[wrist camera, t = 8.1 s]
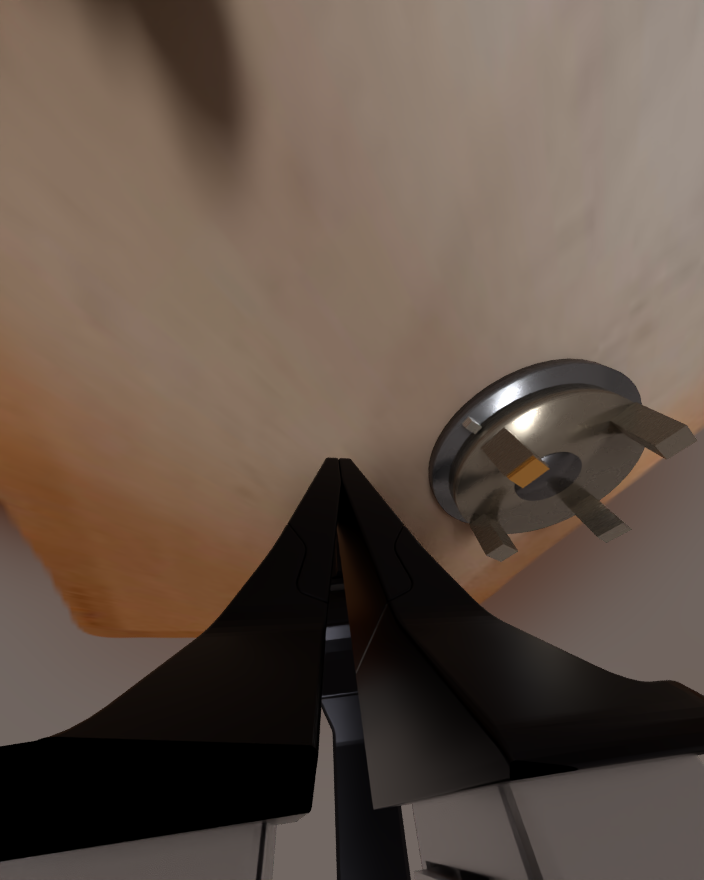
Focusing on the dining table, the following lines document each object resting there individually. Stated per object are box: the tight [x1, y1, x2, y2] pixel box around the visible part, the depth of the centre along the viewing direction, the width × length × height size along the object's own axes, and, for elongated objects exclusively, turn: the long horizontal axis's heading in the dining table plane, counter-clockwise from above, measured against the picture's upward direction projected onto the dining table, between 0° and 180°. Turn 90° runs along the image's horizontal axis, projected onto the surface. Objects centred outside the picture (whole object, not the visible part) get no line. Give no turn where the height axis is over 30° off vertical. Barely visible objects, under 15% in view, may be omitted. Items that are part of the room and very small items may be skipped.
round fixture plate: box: [449, 383, 697, 562], centre depth 24 cm, size 17×17×6 cm
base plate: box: [429, 359, 642, 523], centre depth 26 cm, size 20×20×2 cm
